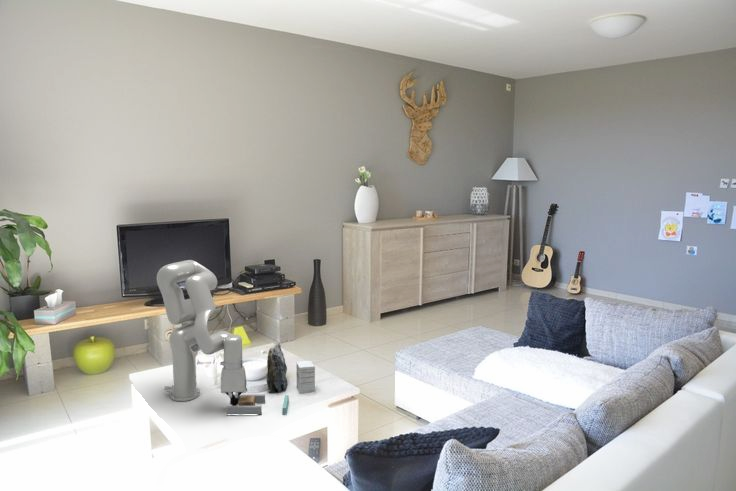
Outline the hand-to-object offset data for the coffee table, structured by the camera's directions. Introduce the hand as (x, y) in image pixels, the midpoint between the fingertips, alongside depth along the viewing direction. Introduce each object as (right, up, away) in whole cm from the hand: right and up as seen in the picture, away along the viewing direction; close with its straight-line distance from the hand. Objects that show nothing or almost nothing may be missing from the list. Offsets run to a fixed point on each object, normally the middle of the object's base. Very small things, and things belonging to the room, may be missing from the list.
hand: (234, 405), depth 219 cm
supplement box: (+28, +1, +20) cm, 34 cm away
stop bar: (+21, -2, +2) cm, 22 cm away
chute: (+5, -1, +1) cm, 5 cm away
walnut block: (+5, -2, +1) cm, 5 cm away
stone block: (+15, +2, +24) cm, 28 cm away
